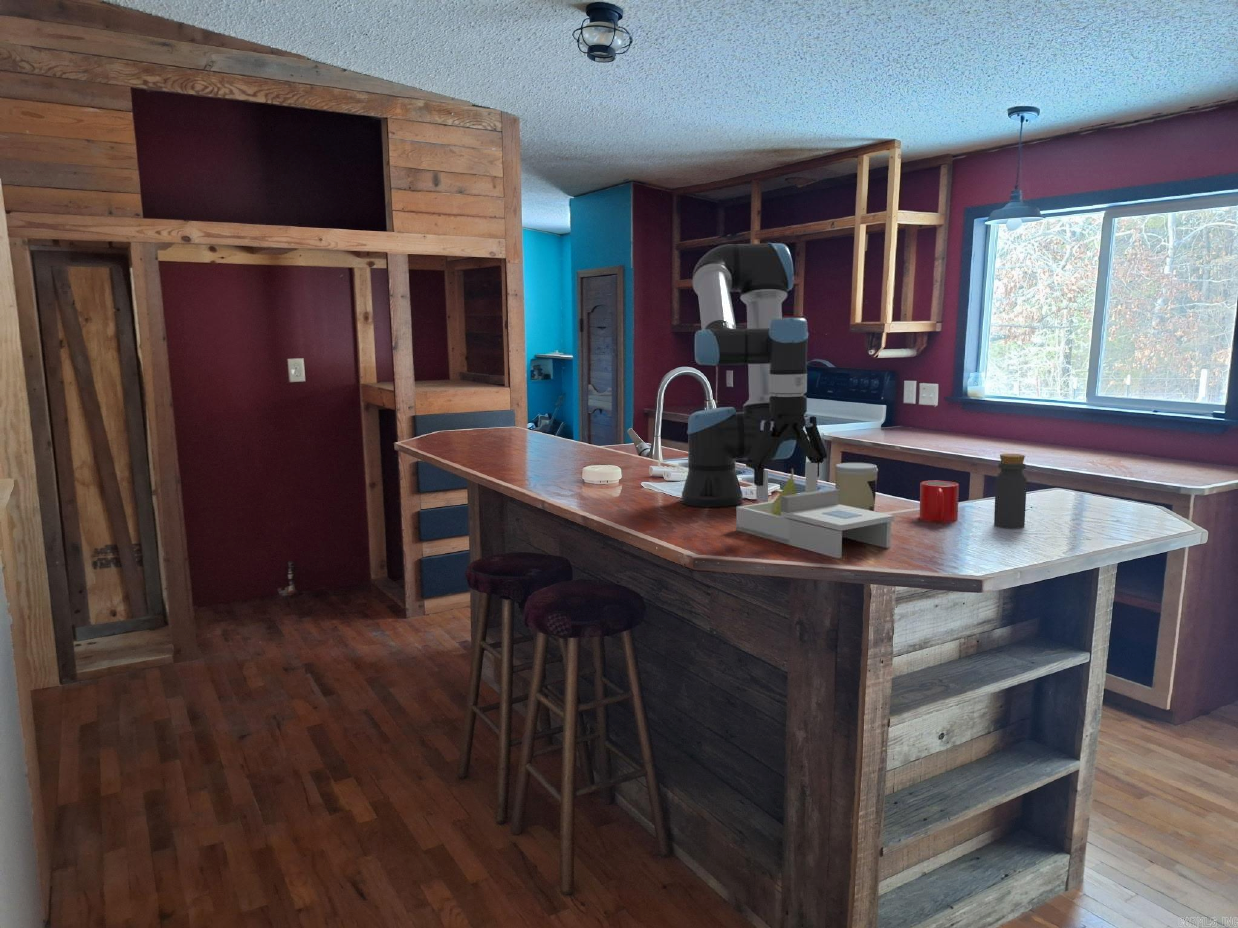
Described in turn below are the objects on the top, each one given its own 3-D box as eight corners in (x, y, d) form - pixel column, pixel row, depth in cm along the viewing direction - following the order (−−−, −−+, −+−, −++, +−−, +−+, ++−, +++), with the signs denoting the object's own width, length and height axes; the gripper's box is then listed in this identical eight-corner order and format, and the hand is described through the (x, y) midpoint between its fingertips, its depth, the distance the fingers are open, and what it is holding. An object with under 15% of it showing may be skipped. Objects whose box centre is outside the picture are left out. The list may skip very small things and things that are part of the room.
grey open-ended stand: (736, 530, 178) (736, 506, 177) (786, 521, 185) (786, 499, 184) (837, 558, 153) (838, 531, 152) (890, 547, 160) (890, 521, 159)
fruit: (768, 529, 172) (769, 471, 170) (774, 522, 179) (775, 467, 177) (801, 531, 170) (803, 473, 168) (805, 525, 177) (807, 468, 175)
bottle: (1000, 521, 180) (1003, 452, 178) (1028, 525, 176) (1032, 454, 174) (989, 525, 176) (992, 455, 174) (1018, 529, 172) (1021, 457, 170)
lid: (780, 516, 165) (780, 496, 165) (831, 507, 172) (832, 488, 172) (840, 530, 152) (841, 509, 151) (893, 520, 159) (894, 500, 158)
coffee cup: (879, 523, 181) (880, 468, 179) (834, 522, 182) (835, 468, 181) (874, 514, 190) (876, 462, 188) (832, 514, 191) (833, 462, 190)
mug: (921, 525, 178) (922, 489, 177) (918, 514, 189) (919, 479, 188) (961, 527, 176) (962, 490, 175) (955, 515, 187) (957, 480, 186)
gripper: (752, 399, 161) (752, 507, 164) (845, 392, 173) (843, 492, 177) (728, 397, 167) (728, 501, 170) (819, 390, 180) (818, 487, 183)
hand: (787, 497), depth 174 cm, fingers open, 13 cm apart
